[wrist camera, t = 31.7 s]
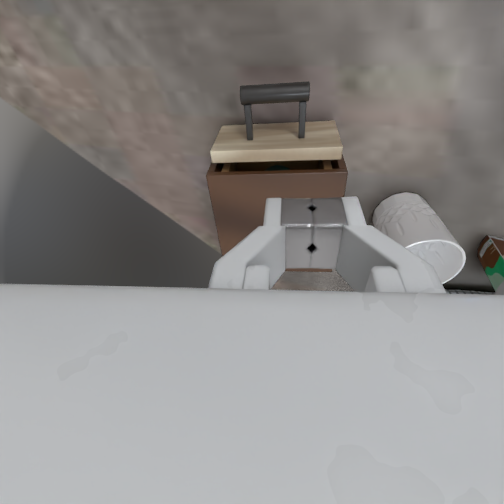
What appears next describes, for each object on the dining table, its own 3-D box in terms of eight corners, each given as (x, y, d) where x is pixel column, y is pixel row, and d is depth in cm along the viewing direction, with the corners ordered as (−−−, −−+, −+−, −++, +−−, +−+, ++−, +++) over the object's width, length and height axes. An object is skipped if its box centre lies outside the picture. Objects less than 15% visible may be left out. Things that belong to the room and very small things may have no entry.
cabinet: (220, 140, 34) (205, 175, 28) (337, 136, 33) (348, 172, 27) (234, 229, 43) (224, 270, 37) (325, 229, 42) (331, 272, 36)
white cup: (355, 218, 40) (369, 270, 33) (404, 176, 35) (434, 227, 28) (393, 244, 42) (415, 299, 35) (445, 208, 38) (482, 263, 30)
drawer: (215, 76, 29) (199, 96, 24) (340, 68, 28) (351, 87, 23) (234, 216, 41) (227, 248, 36) (324, 215, 39) (328, 249, 34)
